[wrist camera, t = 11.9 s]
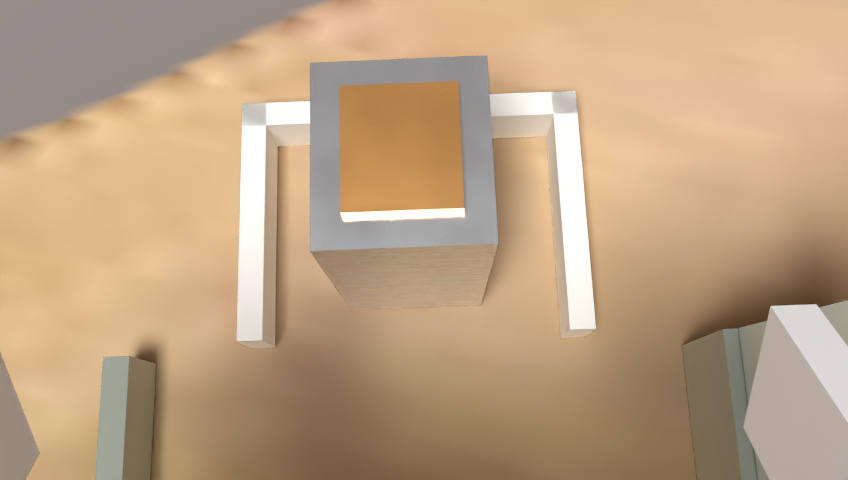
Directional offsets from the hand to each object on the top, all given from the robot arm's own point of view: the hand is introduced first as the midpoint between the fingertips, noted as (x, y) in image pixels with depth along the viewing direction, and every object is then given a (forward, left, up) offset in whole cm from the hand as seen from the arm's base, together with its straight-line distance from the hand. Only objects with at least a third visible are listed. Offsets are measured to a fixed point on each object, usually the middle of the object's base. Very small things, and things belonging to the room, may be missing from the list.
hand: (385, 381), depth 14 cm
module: (0, +7, -20) cm, 21 cm away
